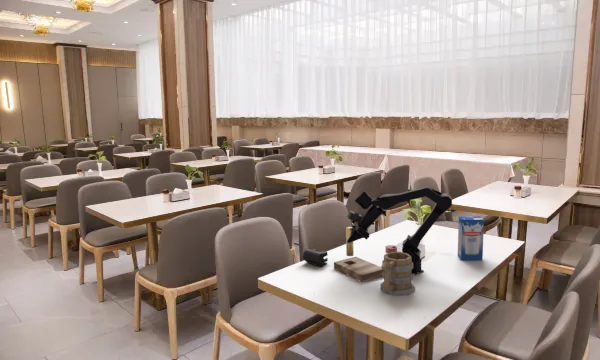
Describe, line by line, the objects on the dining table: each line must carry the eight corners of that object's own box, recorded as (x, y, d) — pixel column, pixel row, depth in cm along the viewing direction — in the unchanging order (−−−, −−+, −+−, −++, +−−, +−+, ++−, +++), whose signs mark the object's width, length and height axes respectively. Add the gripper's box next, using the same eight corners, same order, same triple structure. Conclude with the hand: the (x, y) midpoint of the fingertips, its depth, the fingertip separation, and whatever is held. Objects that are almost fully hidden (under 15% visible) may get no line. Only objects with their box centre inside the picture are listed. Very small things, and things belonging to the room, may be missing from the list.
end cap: (303, 264, 206) (302, 250, 205) (312, 260, 211) (312, 246, 210) (318, 268, 199) (318, 254, 198) (328, 264, 204) (328, 250, 203)
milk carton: (478, 256, 209) (479, 216, 206) (482, 260, 203) (484, 219, 200) (457, 256, 210) (458, 216, 207) (460, 260, 204) (462, 219, 201)
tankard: (390, 280, 183) (390, 246, 180) (418, 287, 175) (419, 251, 172) (366, 296, 167) (366, 259, 165) (396, 304, 159) (396, 266, 157)
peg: (354, 255, 196) (354, 227, 194) (349, 256, 194) (348, 228, 192) (350, 253, 198) (350, 226, 196) (345, 254, 197) (344, 227, 195)
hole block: (384, 275, 189) (384, 268, 188) (362, 281, 182) (362, 275, 181) (355, 262, 205) (355, 256, 205) (334, 268, 199) (333, 262, 198)
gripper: (354, 200, 202) (331, 224, 203) (361, 209, 184) (336, 235, 185) (371, 216, 203) (348, 239, 205) (379, 226, 185) (354, 252, 186)
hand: (346, 241), depth 195 cm, fingers closed on peg, 3 cm apart
